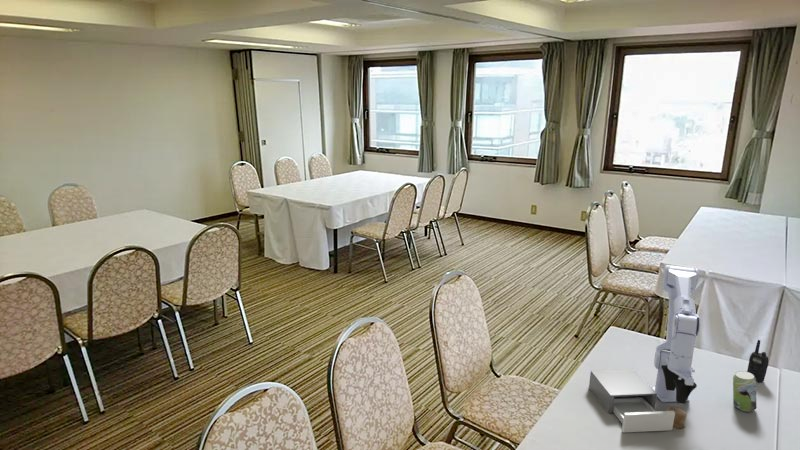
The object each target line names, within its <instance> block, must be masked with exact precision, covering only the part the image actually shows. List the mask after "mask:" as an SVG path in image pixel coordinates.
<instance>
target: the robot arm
mask: <svg viewBox="0 0 800 450" xmlns="http://www.w3.org/2000/svg"><path fill="white" fill-rule="evenodd" d="M699 279H700V272H699V269H698V268H697V267H694V268H693V267H688V266H687V267H685V266H679V265H678V266H677V265H670V264H666V265H664V268H663V273H662V290H663V291H665V292H667V294H668V313H667V325H666V335H665V336H666V337H665V338H666V339H665V341H663V342H661V343H659V344H657V345H656V347H655V353H654V361H653V363H654V364H653V365H654V368H655V369H656V370H657V374H656V381H655V386H650V387H651V388H652V389H653V390H654V391H655V392H656V393H657V397H656V398H658V400H659V401H660V402H662V403H671V402H672V403H675V402H676V403H677V404H686V403H687V402H689V401H690V399H689V396H690V395H691V393H692V392H693V391H694V390H695V389H696V388H697V387H698V385H697V383H696V382H695V379H694V378H693V373H696V371H695V369H694V368H693V367H692V363H693V356H694V349H695V342H696V337H697V336H698V335H699V332H700V328H701V319H700V316H699V314H698V313H697V310H696V302H695V300H694V299H693V297H691V295H692V294H694V292H695V290H696V288H697V286H698V284H699Z"/></svg>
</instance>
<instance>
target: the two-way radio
mask: <svg viewBox="0 0 800 450" xmlns="http://www.w3.org/2000/svg"><path fill="white" fill-rule="evenodd" d="M760 345H761V339H757V342H756V346H755V350H754V351H753V352H751V354H750V356H749V359H748V365H747V370H746V372H749V373H752V374H753V375H754V377H755V378H756V381H757V383H759V384H760V383H764V382H765V377H766V374H767V370H768V366H769V357H768V356H767V353H766V351H762V352H761V353H760V347H761V346H760Z"/></svg>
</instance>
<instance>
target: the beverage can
mask: <svg viewBox="0 0 800 450" xmlns="http://www.w3.org/2000/svg"><path fill="white" fill-rule="evenodd" d="M732 380H733V381H732V388H733V389H732V392H733V393H732V395H733V396H732V397H733V398H732V401H733V402H732V403H733V406H734V407H736V408H737V409H739V410H740V411H743V412H752V411H754V410H756V409H757V395H758V394H757V392H758V391H757V388H758V387H757V383H758V382H757V381H756V378H755V377H754V375H753V374H752V373H749V372H747V370H746V371H745V370H739V371H736V372H735V373H734V374H733V377H732Z"/></svg>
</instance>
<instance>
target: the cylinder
mask: <svg viewBox="0 0 800 450" xmlns="http://www.w3.org/2000/svg"><path fill="white" fill-rule="evenodd" d="M666 411H674V412H675V417H674V423H673V429H676V430H681V429H684V428H685V425H686V419H687V413H686V412H685V410H683V409H681V408H679V407H675V406H671V407H668V408H667V410H666Z"/></svg>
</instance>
